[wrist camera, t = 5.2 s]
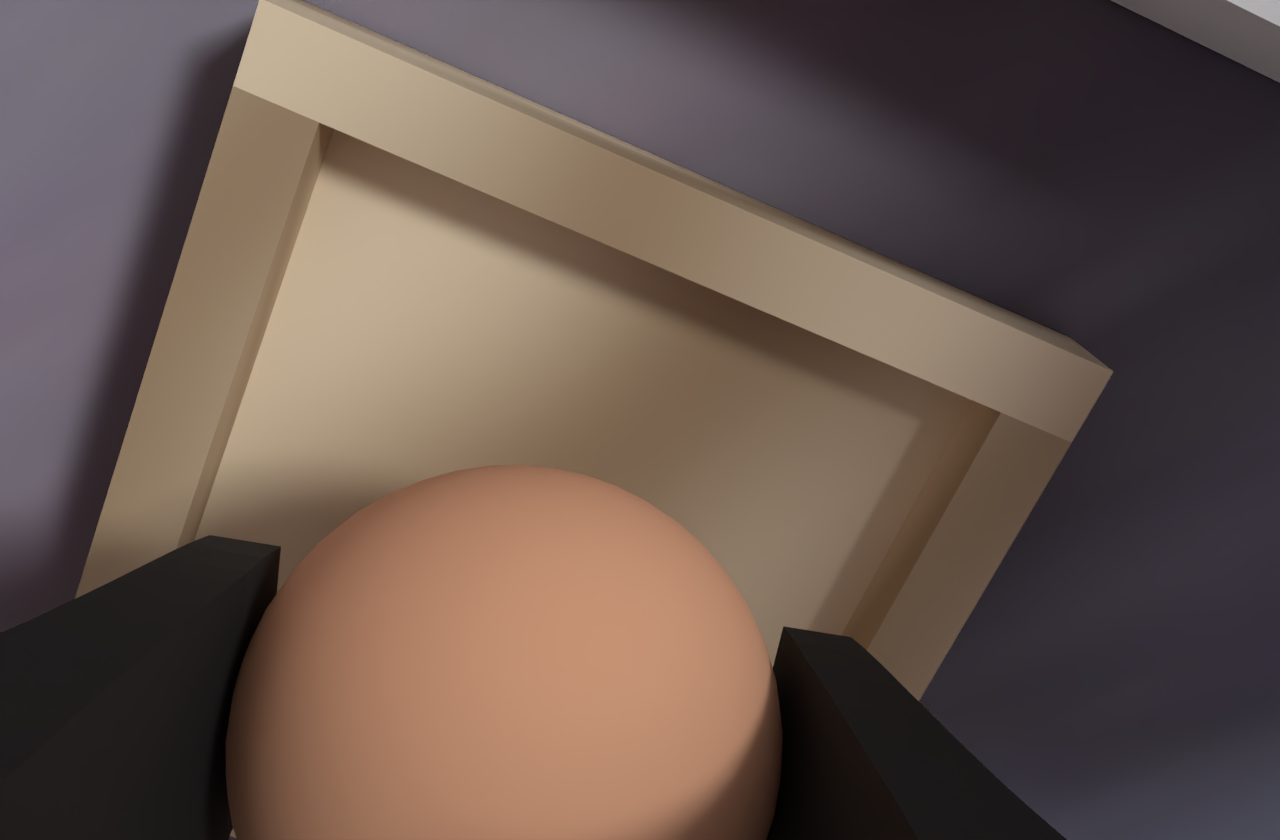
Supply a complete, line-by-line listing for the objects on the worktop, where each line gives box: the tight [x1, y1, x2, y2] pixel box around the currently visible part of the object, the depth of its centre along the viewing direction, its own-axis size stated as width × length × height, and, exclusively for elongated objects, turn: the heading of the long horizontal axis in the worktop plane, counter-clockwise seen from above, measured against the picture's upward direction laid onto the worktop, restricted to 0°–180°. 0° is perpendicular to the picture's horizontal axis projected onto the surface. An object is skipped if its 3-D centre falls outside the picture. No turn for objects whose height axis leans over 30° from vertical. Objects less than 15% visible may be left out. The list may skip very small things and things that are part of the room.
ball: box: [226, 465, 783, 840], centre depth 10 cm, size 4×4×4 cm
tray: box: [75, 0, 1113, 838], centre depth 13 cm, size 9×9×1 cm
